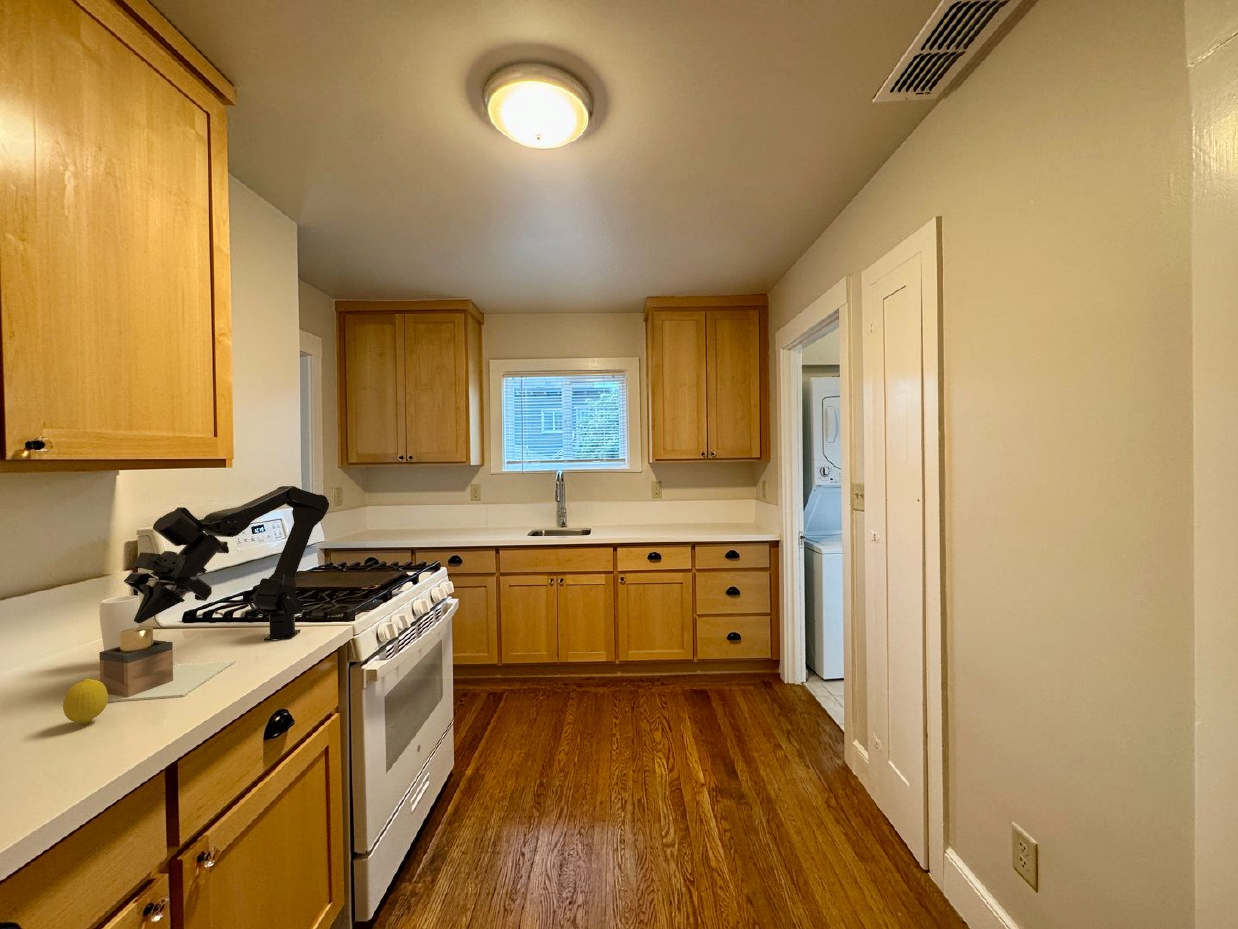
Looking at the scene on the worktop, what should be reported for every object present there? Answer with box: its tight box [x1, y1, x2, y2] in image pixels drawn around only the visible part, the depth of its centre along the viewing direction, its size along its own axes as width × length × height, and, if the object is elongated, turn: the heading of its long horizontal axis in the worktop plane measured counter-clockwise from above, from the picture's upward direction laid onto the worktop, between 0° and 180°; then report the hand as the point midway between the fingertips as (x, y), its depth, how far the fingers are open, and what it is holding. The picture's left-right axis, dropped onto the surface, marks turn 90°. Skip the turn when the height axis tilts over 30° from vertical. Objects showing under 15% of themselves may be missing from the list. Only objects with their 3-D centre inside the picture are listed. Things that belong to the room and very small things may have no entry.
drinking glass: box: [99, 594, 141, 651], centre depth 121 cm, size 7×7×15 cm
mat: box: [107, 660, 236, 703], centre depth 111 cm, size 18×18×1 cm
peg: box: [120, 625, 154, 653], centre depth 107 cm, size 5×5×8 cm
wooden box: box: [98, 639, 174, 697], centre depth 107 cm, size 8×8×8 cm
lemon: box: [62, 678, 108, 725], centre depth 93 cm, size 6×6×8 cm
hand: (136, 622), depth 107 cm, fingers closed
